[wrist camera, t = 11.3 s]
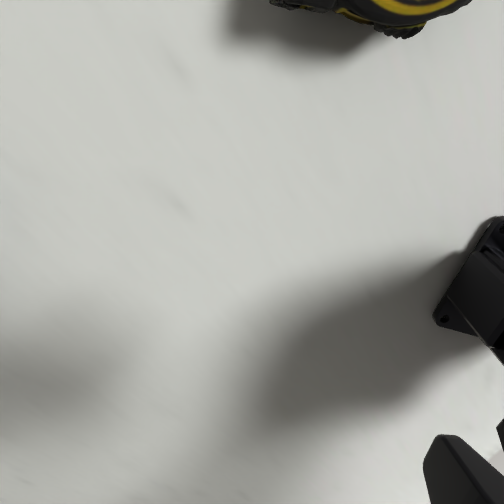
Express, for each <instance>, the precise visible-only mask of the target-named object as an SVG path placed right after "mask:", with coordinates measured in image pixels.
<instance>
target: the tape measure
mask: <svg viewBox="0 0 504 504" xmlns="http://www.w3.org/2000/svg"><path fill="white" fill-rule="evenodd" d="M471 1H472V0H270V4H273V5H275V6H278V7H283V8H286V9H288V10H294V9H298V8H301V9H305V10H310V11H314V12H319V13H324V12H327V11H329V10H330V9H332V10H333V11H334V12H336V13H341V14H342V15H344V16H345V17H347V18H349V19H351V20H353V21H356V22H358V23H362V24H367V25H374V29H375V30H376V31H378V32H384V34H385V35H387V36H391V35H393V37H395V38H396V39H397V38H399V37H401V38H402V39H407V38H410V37H413V36H414V35H416V34H417V33H419V32H420V31H421V30H422V29H423V27H424V26H425V24H426V22H427V21H428V20H431V19H433V18H436V17H439V16H443V15H448V14H450V13H453V12H455V11H456V10H458V9H459V8H460V7H462V6H465V5H468V4H469V3H470V2H471Z"/></svg>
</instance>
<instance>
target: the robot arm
mask: <svg viewBox="0 0 504 504" xmlns="http://www.w3.org/2000/svg"><path fill="white" fill-rule="evenodd" d="M502 225H504V216H500V217H497V218H496V219H494V220H493V221H492V222H491V224H490V225H489V227H488V229H487V230H486V232H485V233H484V235H483V236H482V238H481V239H480V241H479V243H478V244H477V246H476V247H475V249H474V250H473V252H472V253H471V255H470V257H469V258H468V260H467V261H466V263H465V264H464V266H463V267H462V269H461V270H460V272H459V274H458V275H457V277H456V278H455V280H454V281H453V283H452V284H451V286H450V288H449V289H448V291H447V292H446V294H445V295H444V297H443V298H442V300H441V302H440V303H439V305H438V306H437V308H436V309H435V311H434V312H433V315H432V318H433V320H434V321H435V322H436V324H437V325H438V326H440V327H444V328H448V329H451V330H455V331H459V332H463V333H466V334H470V335H474V336H477V337H479V338H480V339H481V340H482V341H483V343H484V344H485V345H486V346H487V347H489V348H490V350H491V351H492V352H493V353H494V355H495V356H496V357H497V358H498V360H499V361H500V362H501V363H502V365H503V366H504V228H503V229H501V230H499V229H500V227H501V226H502ZM444 315H446V316H445V317H444V318H441V317H442V316H444ZM496 429H497V432H498V435H499V438H500V442H501V445H502V448H503V451H504V419H503V420H502V421H501V422H500V423H499V424H498V426H497V427H496ZM423 473H424V477H425V481H426V485H427V489H428V494H429V498H430V502H431V504H504V476H503V475H502V474H501V473H500V472H498V471H497V470H496V469H495V468H494V467H493V466H491V464H489V463H488V462H487V461H486V460H485V459H484V458H483V457H482V456H481V455H479V454H478V453H477V452H476V451H475V450H474V449H473V448H472V447H470V446H469V445H468V444H467V443H466V442H465V441H464V440H463V439H461V438H460V437H458V436H455V435H444V434H440V435H438V436H436V437H435V439H434V441H433V442H432V444H431V446H430V448H429V450H428V452H427V454H426V456H425V458H424V461H423Z"/></svg>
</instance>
